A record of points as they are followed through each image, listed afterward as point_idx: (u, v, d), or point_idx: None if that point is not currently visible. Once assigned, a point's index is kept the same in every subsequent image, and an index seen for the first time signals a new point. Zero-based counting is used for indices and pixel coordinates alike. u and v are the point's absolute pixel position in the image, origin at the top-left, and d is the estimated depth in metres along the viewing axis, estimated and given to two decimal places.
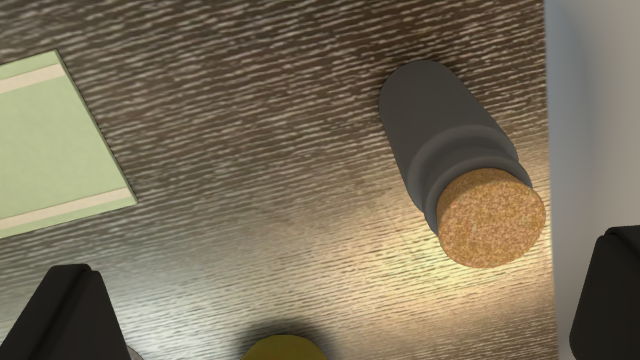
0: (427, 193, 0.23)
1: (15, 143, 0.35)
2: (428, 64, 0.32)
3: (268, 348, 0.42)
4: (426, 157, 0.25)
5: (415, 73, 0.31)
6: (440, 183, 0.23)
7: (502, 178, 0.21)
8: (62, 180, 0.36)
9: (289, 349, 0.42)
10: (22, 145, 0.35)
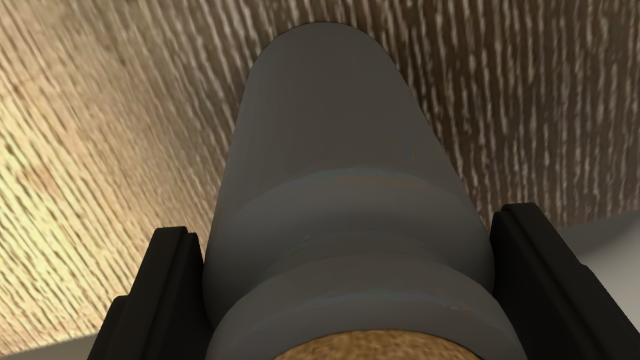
0: (419, 287, 0.07)
1: None
2: None
3: None
4: (433, 213, 0.09)
5: None
6: (466, 325, 0.07)
7: None
8: None
9: None
10: None
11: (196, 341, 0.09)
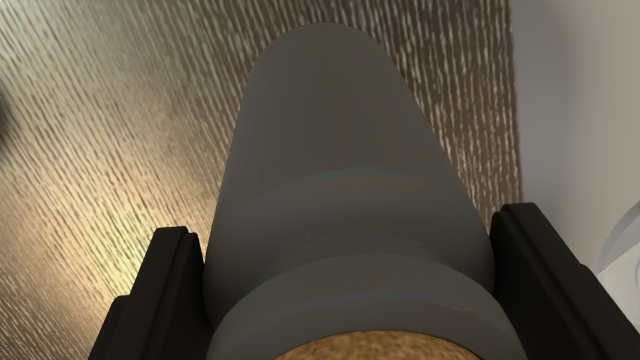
0: (419, 288, 0.07)
1: None
2: None
3: None
4: (434, 214, 0.09)
5: None
6: (465, 325, 0.07)
7: None
8: None
9: None
10: None
11: (196, 341, 0.09)
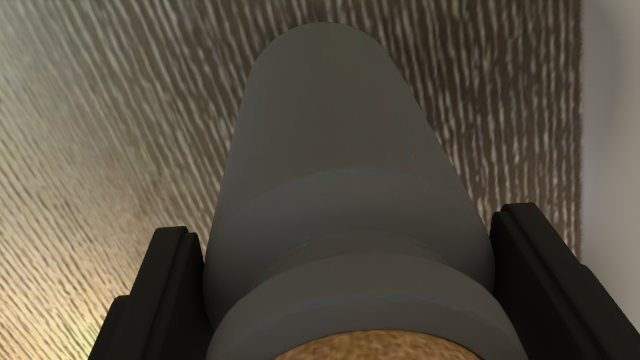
0: (419, 288, 0.07)
1: None
2: None
3: None
4: (434, 214, 0.09)
5: None
6: (466, 324, 0.07)
7: None
8: None
9: None
10: None
11: (196, 341, 0.09)
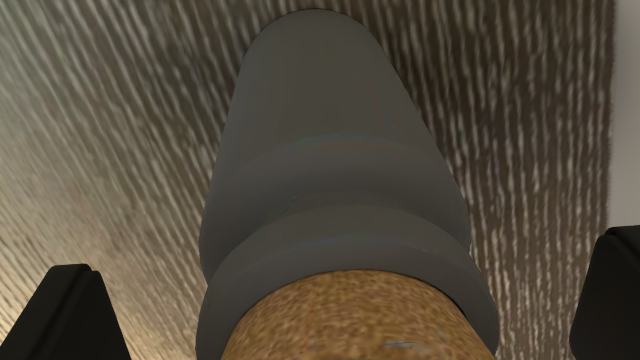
0: (393, 232, 0.07)
1: None
2: None
3: None
4: (411, 176, 0.09)
5: None
6: (435, 265, 0.07)
7: None
8: None
9: None
10: None
11: None
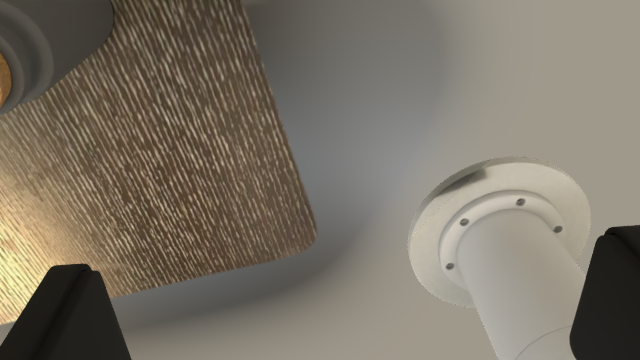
0: None
1: None
2: (108, 14, 0.35)
3: None
4: (5, 12, 0.25)
5: (96, 1, 0.33)
6: None
7: (1, 81, 0.23)
8: None
9: None
10: None
11: None
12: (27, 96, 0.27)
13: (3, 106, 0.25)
